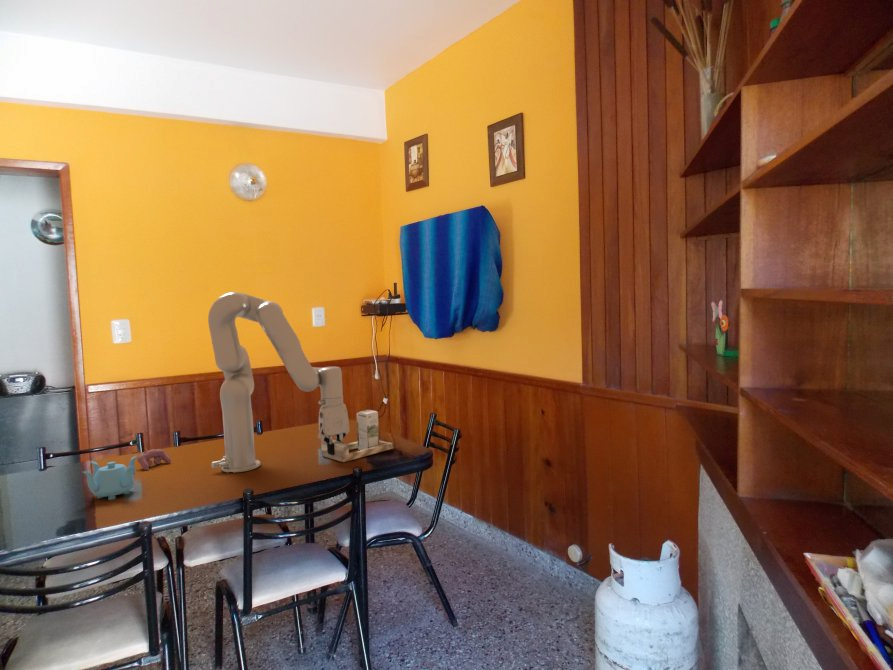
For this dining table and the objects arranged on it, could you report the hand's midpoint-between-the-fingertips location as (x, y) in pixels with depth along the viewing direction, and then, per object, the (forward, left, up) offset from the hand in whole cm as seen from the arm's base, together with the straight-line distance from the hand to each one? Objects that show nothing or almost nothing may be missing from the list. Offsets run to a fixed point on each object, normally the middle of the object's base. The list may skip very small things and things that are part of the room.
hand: (335, 453), depth 202 cm
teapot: (-64, +22, -2) cm, 68 cm away
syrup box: (+15, 0, -2) cm, 15 cm away
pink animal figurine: (-45, +46, -2) cm, 64 cm away
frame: (+10, 0, -2) cm, 10 cm away
